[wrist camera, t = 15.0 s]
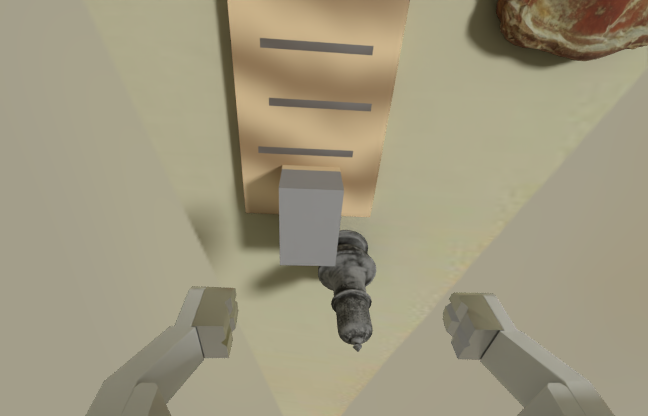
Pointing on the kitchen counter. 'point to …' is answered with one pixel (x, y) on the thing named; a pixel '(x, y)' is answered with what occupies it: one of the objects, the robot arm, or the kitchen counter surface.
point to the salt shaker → (351, 287)
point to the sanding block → (309, 214)
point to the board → (314, 91)
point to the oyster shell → (575, 26)
